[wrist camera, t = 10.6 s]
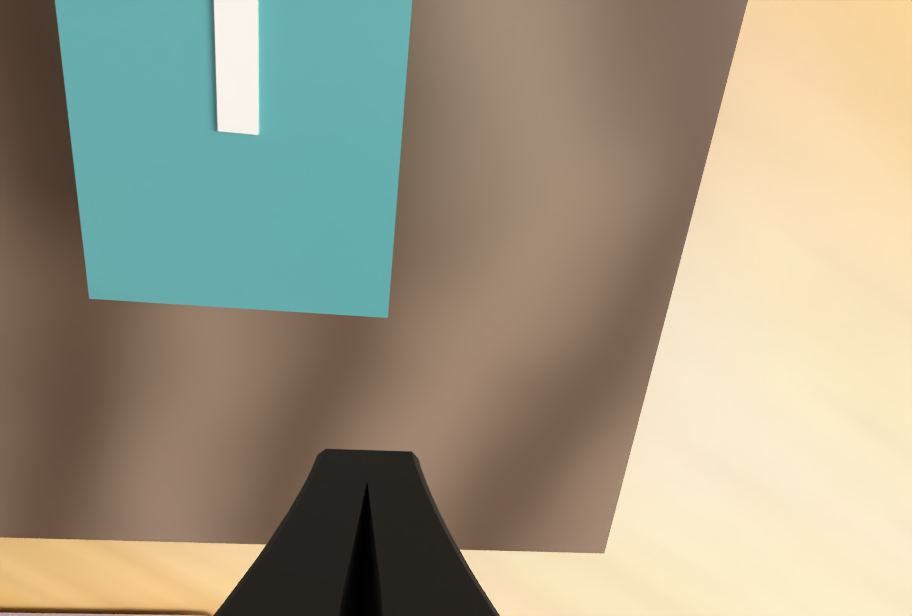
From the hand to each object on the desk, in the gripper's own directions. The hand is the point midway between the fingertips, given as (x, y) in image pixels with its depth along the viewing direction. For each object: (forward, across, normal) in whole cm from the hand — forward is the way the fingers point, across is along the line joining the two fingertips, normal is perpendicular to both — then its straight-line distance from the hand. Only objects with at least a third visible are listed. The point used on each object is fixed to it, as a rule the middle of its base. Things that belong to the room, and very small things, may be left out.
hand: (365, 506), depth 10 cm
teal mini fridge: (+8, +2, -5) cm, 10 cm away
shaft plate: (+9, +1, 0) cm, 9 cm away
